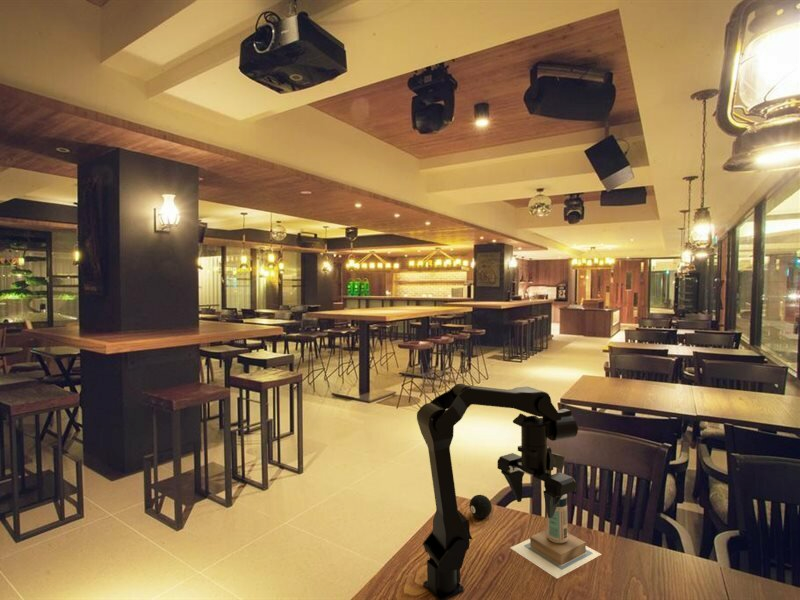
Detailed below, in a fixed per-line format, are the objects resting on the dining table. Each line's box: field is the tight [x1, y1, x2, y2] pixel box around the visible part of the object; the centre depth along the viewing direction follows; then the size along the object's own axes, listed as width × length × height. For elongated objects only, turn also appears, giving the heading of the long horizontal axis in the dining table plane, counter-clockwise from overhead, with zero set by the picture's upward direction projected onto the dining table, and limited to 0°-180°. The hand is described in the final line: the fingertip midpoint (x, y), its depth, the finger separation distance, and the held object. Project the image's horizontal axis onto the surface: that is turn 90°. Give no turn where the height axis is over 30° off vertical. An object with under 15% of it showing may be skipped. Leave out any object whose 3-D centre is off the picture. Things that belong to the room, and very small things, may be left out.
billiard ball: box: [469, 494, 493, 519], centre depth 125 cm, size 6×6×6 cm
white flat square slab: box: [509, 538, 602, 579], centre depth 107 cm, size 16×14×1 cm
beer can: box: [546, 494, 568, 544], centre depth 107 cm, size 5×5×12 cm
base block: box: [529, 528, 587, 565], centre depth 108 cm, size 9×9×2 cm
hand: (534, 509), depth 103 cm, fingers open, 9 cm apart
